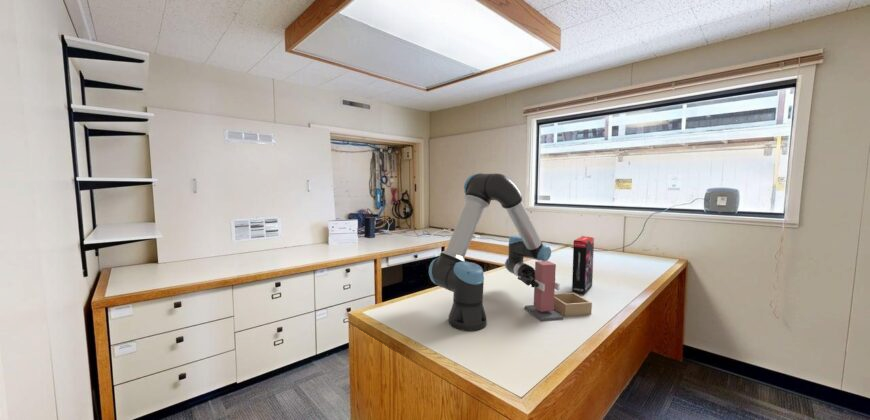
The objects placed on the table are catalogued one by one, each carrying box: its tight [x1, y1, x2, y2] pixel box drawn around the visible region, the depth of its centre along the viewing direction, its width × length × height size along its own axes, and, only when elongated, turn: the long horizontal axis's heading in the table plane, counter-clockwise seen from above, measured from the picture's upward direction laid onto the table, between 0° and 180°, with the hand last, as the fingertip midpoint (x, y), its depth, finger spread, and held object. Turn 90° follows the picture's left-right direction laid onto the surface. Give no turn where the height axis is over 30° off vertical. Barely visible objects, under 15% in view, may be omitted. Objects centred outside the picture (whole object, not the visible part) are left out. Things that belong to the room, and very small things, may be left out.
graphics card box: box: [571, 235, 595, 295], centre depth 172 cm, size 17×7×27 cm, turn 143°
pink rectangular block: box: [533, 260, 557, 312], centre depth 140 cm, size 6×6×20 cm
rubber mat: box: [524, 304, 564, 322], centre depth 141 cm, size 10×14×1 cm
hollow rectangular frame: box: [554, 292, 593, 317], centre depth 146 cm, size 13×13×5 cm
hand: (551, 287), depth 135 cm, fingers closed on pink rectangular block, 6 cm apart
